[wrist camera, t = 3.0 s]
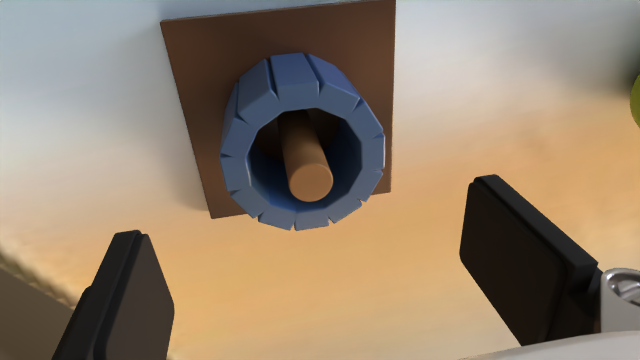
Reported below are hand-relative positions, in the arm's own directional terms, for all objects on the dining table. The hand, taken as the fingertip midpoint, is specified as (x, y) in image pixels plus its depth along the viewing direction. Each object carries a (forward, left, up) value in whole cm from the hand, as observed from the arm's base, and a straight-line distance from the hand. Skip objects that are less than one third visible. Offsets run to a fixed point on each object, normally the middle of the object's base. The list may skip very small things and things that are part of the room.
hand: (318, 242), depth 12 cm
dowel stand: (0, 0, -10) cm, 10 cm away
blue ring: (0, 0, -9) cm, 9 cm away
